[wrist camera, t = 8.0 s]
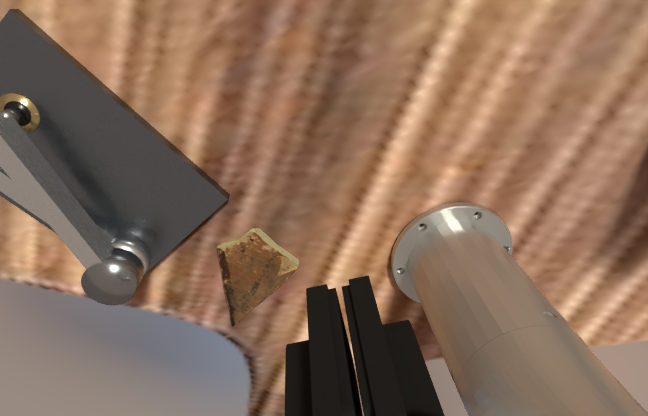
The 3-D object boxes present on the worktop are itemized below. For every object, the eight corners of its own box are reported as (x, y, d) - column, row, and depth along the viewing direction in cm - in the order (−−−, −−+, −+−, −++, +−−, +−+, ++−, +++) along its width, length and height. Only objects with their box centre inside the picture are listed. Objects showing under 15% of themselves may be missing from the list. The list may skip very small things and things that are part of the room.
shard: (234, 317, 46) (232, 329, 44) (178, 279, 43) (173, 290, 42) (302, 259, 43) (302, 269, 41) (246, 214, 40) (244, 223, 39)
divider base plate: (229, 194, 39) (225, 207, 36) (136, 279, 42) (126, 295, 40) (18, 9, 30) (-6, 10, 28) (-76, 133, 34) (-104, 143, 32)
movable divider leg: (158, 267, 40) (144, 295, 36) (119, 282, 41) (101, 311, 37) (34, 96, 32) (0, 109, 28) (-13, 118, 33) (-53, 133, 29)
